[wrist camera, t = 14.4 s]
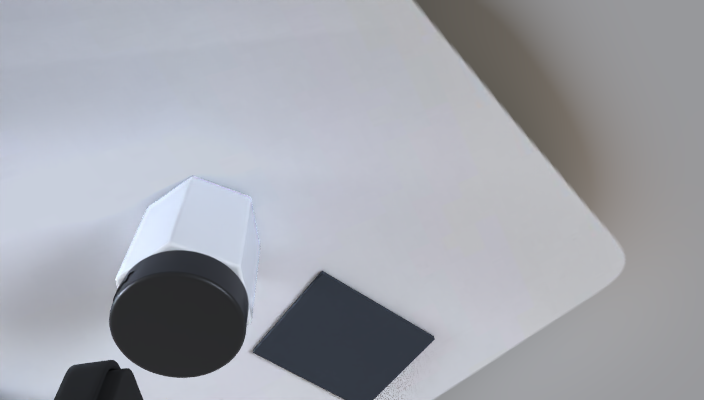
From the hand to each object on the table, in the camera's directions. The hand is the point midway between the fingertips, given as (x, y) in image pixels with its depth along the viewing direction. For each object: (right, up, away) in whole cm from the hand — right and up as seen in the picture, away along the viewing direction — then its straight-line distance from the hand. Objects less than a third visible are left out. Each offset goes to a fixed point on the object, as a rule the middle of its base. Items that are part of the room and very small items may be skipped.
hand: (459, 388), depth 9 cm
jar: (-13, +1, +40) cm, 42 cm away
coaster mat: (-2, -10, +46) cm, 47 cm away
